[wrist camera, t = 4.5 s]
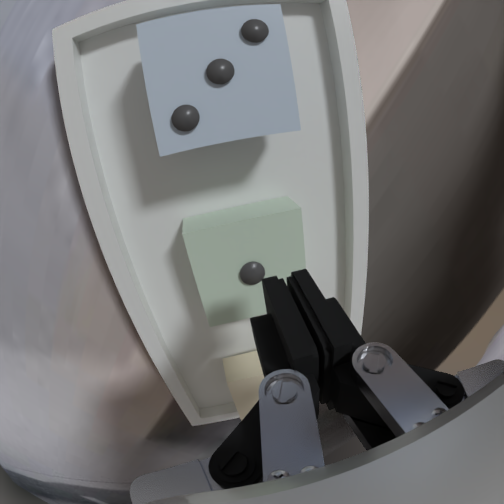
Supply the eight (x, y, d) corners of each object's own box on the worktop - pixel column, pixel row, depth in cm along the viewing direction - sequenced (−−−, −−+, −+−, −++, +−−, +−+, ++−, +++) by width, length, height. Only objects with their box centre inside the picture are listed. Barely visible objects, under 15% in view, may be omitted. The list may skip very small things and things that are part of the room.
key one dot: (287, 196, 15) (302, 208, 13) (296, 283, 18) (309, 304, 16) (182, 218, 14) (182, 235, 13) (206, 305, 17) (210, 328, 15)
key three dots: (267, 18, 10) (281, 2, 8) (285, 127, 12) (302, 130, 11) (143, 37, 9) (135, 23, 7) (164, 150, 12) (159, 157, 10)
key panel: (325, -5, 11) (342, -16, 9) (344, 367, 24) (353, 382, 22) (67, 37, 10) (52, 29, 8) (190, 407, 23) (192, 426, 21)
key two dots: (304, 337, 18) (316, 360, 16) (306, 385, 21) (316, 406, 19) (222, 358, 18) (227, 384, 16) (238, 403, 20) (243, 426, 18)
